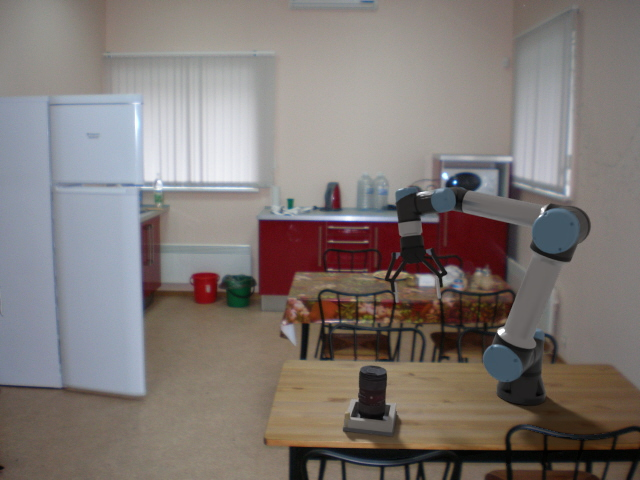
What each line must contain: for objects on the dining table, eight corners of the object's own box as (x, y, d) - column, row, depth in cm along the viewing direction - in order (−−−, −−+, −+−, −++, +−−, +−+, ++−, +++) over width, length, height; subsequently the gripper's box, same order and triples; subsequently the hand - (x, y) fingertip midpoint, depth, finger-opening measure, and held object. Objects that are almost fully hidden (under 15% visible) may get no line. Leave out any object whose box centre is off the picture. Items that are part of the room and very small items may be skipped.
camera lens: (384, 426, 169) (386, 376, 167) (356, 423, 171) (357, 373, 168) (386, 413, 177) (388, 365, 174) (359, 411, 178) (360, 363, 176)
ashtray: (396, 414, 179) (397, 398, 178) (392, 436, 166) (393, 419, 165) (350, 409, 182) (351, 393, 181) (342, 430, 168) (343, 414, 168)
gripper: (447, 231, 198) (455, 295, 197) (372, 239, 200) (379, 303, 199) (451, 230, 191) (458, 297, 190) (373, 239, 192) (380, 305, 191)
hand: (418, 300), depth 194 cm, fingers open, 13 cm apart
